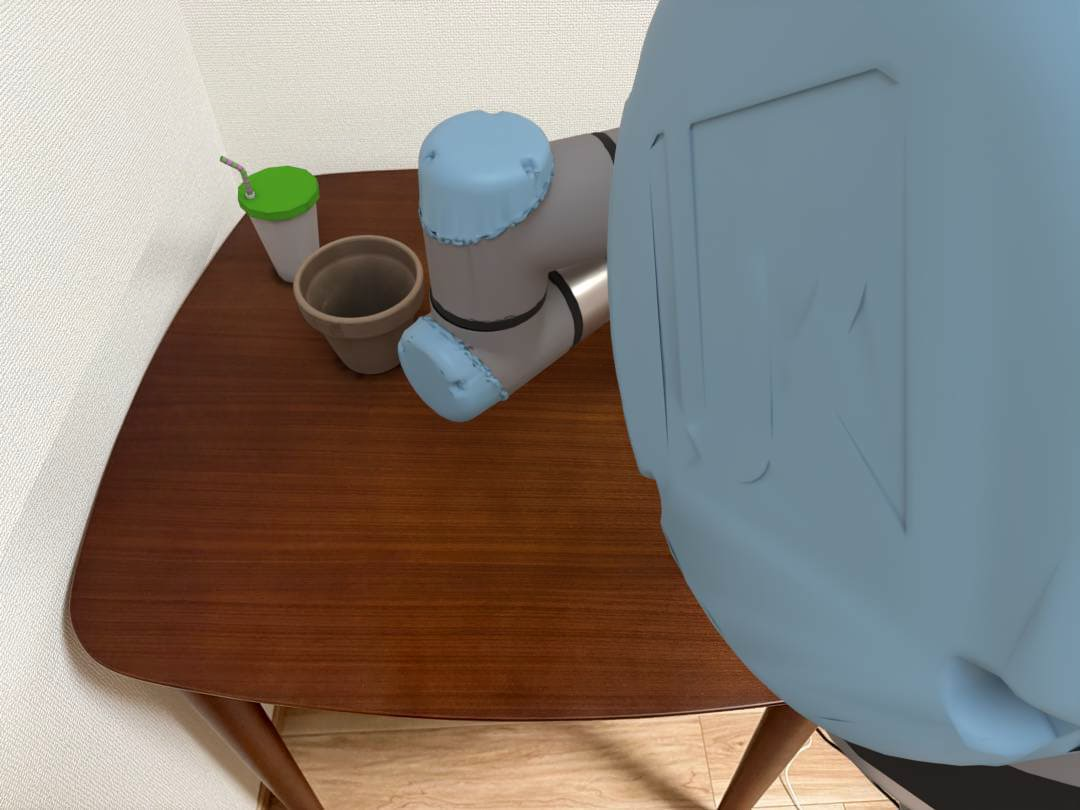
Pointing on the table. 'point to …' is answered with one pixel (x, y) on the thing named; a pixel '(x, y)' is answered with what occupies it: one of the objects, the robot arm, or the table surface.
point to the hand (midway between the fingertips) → (764, 153)
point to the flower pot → (361, 298)
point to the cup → (281, 213)
